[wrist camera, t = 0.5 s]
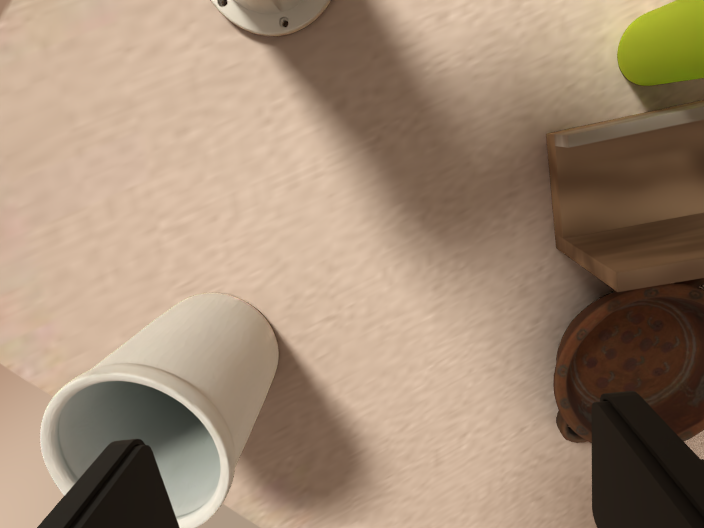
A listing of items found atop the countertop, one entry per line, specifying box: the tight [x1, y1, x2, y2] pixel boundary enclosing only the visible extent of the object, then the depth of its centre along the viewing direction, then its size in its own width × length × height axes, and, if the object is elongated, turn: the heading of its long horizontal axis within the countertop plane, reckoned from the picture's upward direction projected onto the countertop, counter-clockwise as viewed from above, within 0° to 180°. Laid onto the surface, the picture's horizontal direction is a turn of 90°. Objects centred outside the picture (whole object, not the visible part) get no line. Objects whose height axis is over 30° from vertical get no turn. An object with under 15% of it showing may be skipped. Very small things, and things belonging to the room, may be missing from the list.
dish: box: [554, 278, 704, 443], centre depth 44 cm, size 18×22×5 cm
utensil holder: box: [40, 293, 279, 528], centre depth 41 cm, size 15×15×18 cm
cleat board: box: [546, 100, 704, 292], centre depth 35 cm, size 11×18×12 cm, turn 102°
